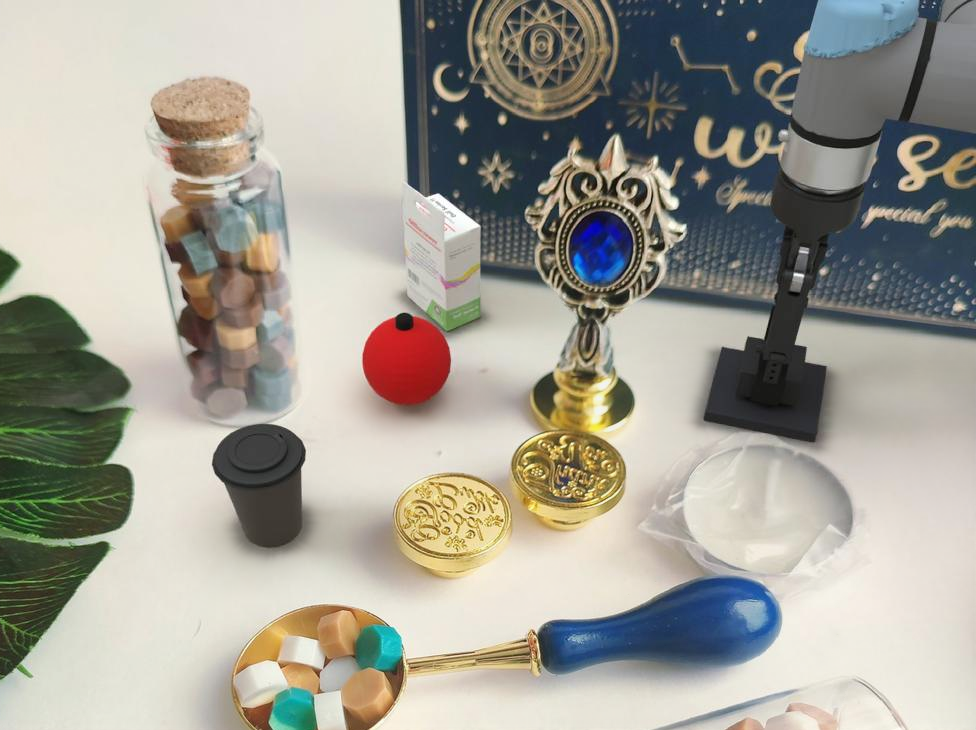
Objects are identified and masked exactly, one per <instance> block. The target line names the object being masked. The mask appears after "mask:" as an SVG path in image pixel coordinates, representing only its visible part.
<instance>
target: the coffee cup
mask: <svg viewBox="0 0 976 730" xmlns="http://www.w3.org/2000/svg"><path fill="white" fill-rule="evenodd" d="M306 455H307V449H306V446H305V445H304V442H303V440H302V439H301V438H300V437H299V436H298V435H297V434H296V433H295V432H294V431H292V430H290V429H288V428H286V427H284V426H281V425H278V424H273V423H256V424H250V425H246V426H243V427H240V428H238V429H235V430H234V431H232V432H231V433H228V434H227V435H226V436H225V437H223V439H222V440H221V441H220V442H219V444H218V445H217V447H216V449H215V451H214V452H213V454H212V461H211V466H212V469H213V471H214V472H213V473H214V475H215V476H216V477H217V478H218V479H219V480H220V481H221V483H223V484H224V486H225V489H226V491H227V493H228V496H229V498H230V502H231V503H232V505H233V508H234V511H235V514H236V515H237V518H238V520H239V523H240V526H241V527H242V530H243V533H244V535H245V537H246V538H247V539H248V541H249V542H251V543H253V544H254V545H256V546H259V547H263V548H277V547H281V546H284V545H286V544H288V543H290V542H292V541H293V540H294V539H296V537H297V536H298V535H299V534H300V533H301V530H302V526H303V501H302V500H303V496H302V495H303V493H302V491H303V488H302V487H303V483H302V467H303V466H304V463H305V462H306Z"/></svg>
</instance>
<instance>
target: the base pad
mask: <svg viewBox="0 0 976 730" xmlns="http://www.w3.org/2000/svg"><path fill="white" fill-rule="evenodd" d="M743 352H744V350H741V349H736V348H732V347H726V346H721V348H720V352H719V356H718V360H717V364H716V368H715V372H714V375H713V378H712V379H713V380H712V384H711V387H710V390H709V395H708V399H707V402H706V406H705V411H704V415H703V421H705V422H711V423H717V424H719V425H720V424H721V425H725V426H729V427H736V428H740V429H745V430H751V431H755V432H759V433H765V434H769V435H776V436H780V437H786V438H791V439H795V440H800V441H806V442H811V443H815V442H816V438H817V436H818V431H819V429H818V428H819V423H820V416H821V409H822V402H823V395H824V388H825V381H826V374H827V368H828V367H827V365H823V364H818V363H812V362H806V361H805V366H804V374H803V381H802V386H801V389H800V392H799V396H798V399H797V402H796V405H795V406H793V405H788V404H783V403H780V402H779V403H778V406H774V405H769V404H764V403H759V402H754V401H750V399H751V398H750V397H745V396H739V395H735V392H736V387H737V382H738V377H739V372H740V366H741V361H742V357H743Z"/></svg>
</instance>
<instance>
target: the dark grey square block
mask: <svg viewBox="0 0 976 730" xmlns="http://www.w3.org/2000/svg"><path fill="white" fill-rule="evenodd" d="M766 342H767V340H764V338H761V337H754V336H749V335H748V336H747V337H746V340H745V344H744V349H743V351H744V352H743V357H742V361H741V366H740V372H739V377H738V382H737V387H736V392H735V395H739V396H745V397H750V398H751V395H752V391H753V387H754V383H755V379H756V375H757V371H758V367H759V363H760V359H761V355H762V353H758V352H756V349H757V345H758V344H762V345H764V344H766ZM807 350H808V347H807V346H805V345H800V344H795V345H794V349H793V354H792V356H793V358H792V361H791V362H790V364H789V366H788V370H787V374H786V377H785V381H784V384H783V388H782V392H781V395H780V399H779V402H780V403H783V404H788V405H793V406H795V405H796V402H797V399H798V396H799V392H800V389H801V386H802V381H803V374H804V366H805V362H806V357H807Z"/></svg>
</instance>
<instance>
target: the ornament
mask: <svg viewBox="0 0 976 730" xmlns="http://www.w3.org/2000/svg"><path fill="white" fill-rule="evenodd" d="M450 348H451V347H450V346H449V344H448V340H447V339H446V337H445V335H444V334H443V333H442V331H441V330H440V329H439V328H438V327H437V326H436V325H434V324H433V323H432V322H430V321H429V320H427V319H425V318H422V317H419V316H414V315H412V314H411V313H409V312H400V313H398V314H397V315H396V316H394V317H391V318H388V319H386V320H384V321H382V322H381V323H379V325H377V326H376V327H375V328H374V329H373V330H372V331H371V333H369V336H368V338H367V339H366V341H365V343H364V347H363V350H362V357H361V358H362V360H361V362H362V370H363V374H364V376H365V379H366V382H368V385H369V386H370V387H371V389H372V390H373V391H374V392H375V393H376V394H377V395H378V396H379V397H380V398H382V399H383V400H386V401H388V402H389V403H392V404H395V405H400V406H414V405H419V404H422V403H425V402H427V401H428V400H430V399H432V398H433V397H435V396H436V395H437V394H438V393H439V392H441V390H442V388H443V387H444V386H445V384H446V382H447V380H448V378H449V375H450V373H451V367H452V356H451V349H450Z"/></svg>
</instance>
